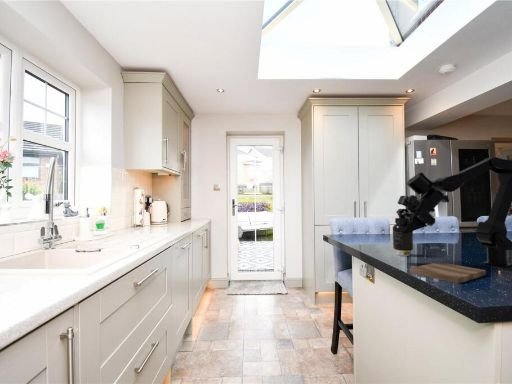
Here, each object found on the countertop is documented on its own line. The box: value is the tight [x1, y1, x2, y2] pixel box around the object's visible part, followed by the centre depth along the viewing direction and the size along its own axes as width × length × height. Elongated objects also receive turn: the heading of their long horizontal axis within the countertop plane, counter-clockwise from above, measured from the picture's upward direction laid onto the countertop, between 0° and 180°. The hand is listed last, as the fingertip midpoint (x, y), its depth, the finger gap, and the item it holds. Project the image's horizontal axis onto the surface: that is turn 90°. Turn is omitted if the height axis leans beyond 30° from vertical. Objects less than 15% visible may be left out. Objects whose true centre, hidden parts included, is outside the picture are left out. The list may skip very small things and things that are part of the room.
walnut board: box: [409, 261, 487, 285], centre depth 88 cm, size 18×14×2 cm
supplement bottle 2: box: [395, 250, 411, 257], centre depth 120 cm, size 6×6×10 cm
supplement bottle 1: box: [392, 217, 414, 252], centre depth 103 cm, size 7×7×12 cm
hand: (398, 232), depth 104 cm, fingers closed on supplement bottle 1, 7 cm apart
